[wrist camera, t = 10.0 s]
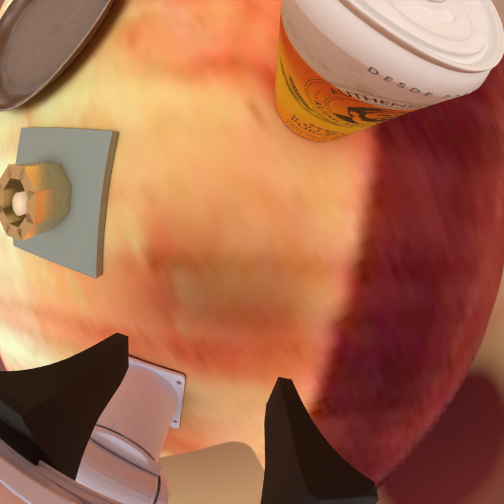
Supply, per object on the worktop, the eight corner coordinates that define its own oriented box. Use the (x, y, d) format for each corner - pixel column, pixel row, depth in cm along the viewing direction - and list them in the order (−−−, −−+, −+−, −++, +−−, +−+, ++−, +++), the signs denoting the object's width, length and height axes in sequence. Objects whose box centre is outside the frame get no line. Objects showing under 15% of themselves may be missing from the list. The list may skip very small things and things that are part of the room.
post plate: (102, 274, 22) (69, 298, 17) (19, 242, 21) (-13, 257, 17) (118, 132, 18) (81, 126, 13) (28, 128, 18) (-8, 127, 13)
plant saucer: (129, 68, 17) (109, 56, 13) (-9, 138, 18) (-28, 139, 15) (145, -65, 11) (135, -80, 8) (14, 8, 12) (0, 3, 9)
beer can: (283, 148, 18) (334, 78, 4) (266, 69, 16) (258, -97, 2) (366, 138, 17) (538, 105, 3) (347, 62, 16) (454, -61, 1)
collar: (68, 231, 19) (34, 246, 15) (30, 219, 19) (-3, 230, 15) (74, 165, 18) (37, 168, 14) (34, 160, 18) (-1, 163, 13)
